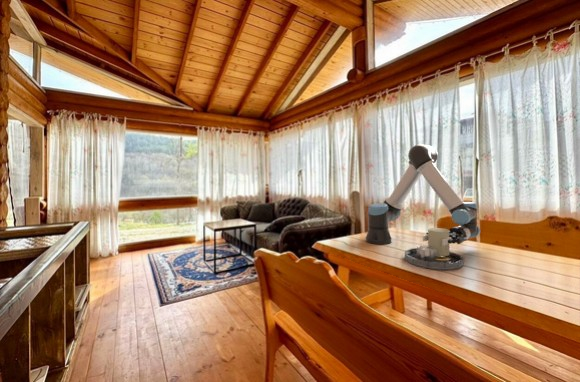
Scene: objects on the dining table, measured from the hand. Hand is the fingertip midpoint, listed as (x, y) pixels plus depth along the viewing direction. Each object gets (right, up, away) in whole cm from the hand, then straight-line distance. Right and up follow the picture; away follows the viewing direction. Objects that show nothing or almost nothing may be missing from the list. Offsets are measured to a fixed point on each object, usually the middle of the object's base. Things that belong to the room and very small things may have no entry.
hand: (432, 240), depth 123 cm
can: (+4, -7, +3) cm, 9 cm away
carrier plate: (0, -10, 0) cm, 10 cm away
